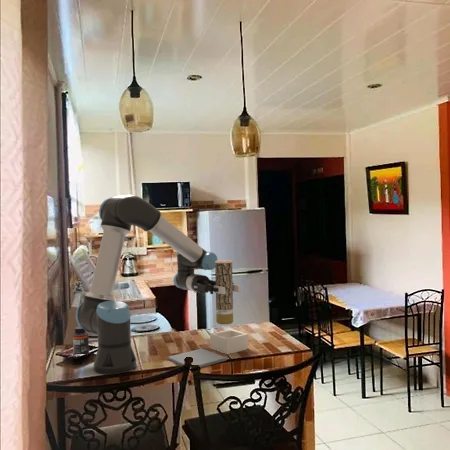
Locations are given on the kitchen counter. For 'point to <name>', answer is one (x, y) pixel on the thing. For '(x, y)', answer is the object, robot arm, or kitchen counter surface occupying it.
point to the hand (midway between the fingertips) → (231, 289)
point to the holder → (229, 341)
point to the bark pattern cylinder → (225, 300)
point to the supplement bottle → (80, 341)
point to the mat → (198, 358)
